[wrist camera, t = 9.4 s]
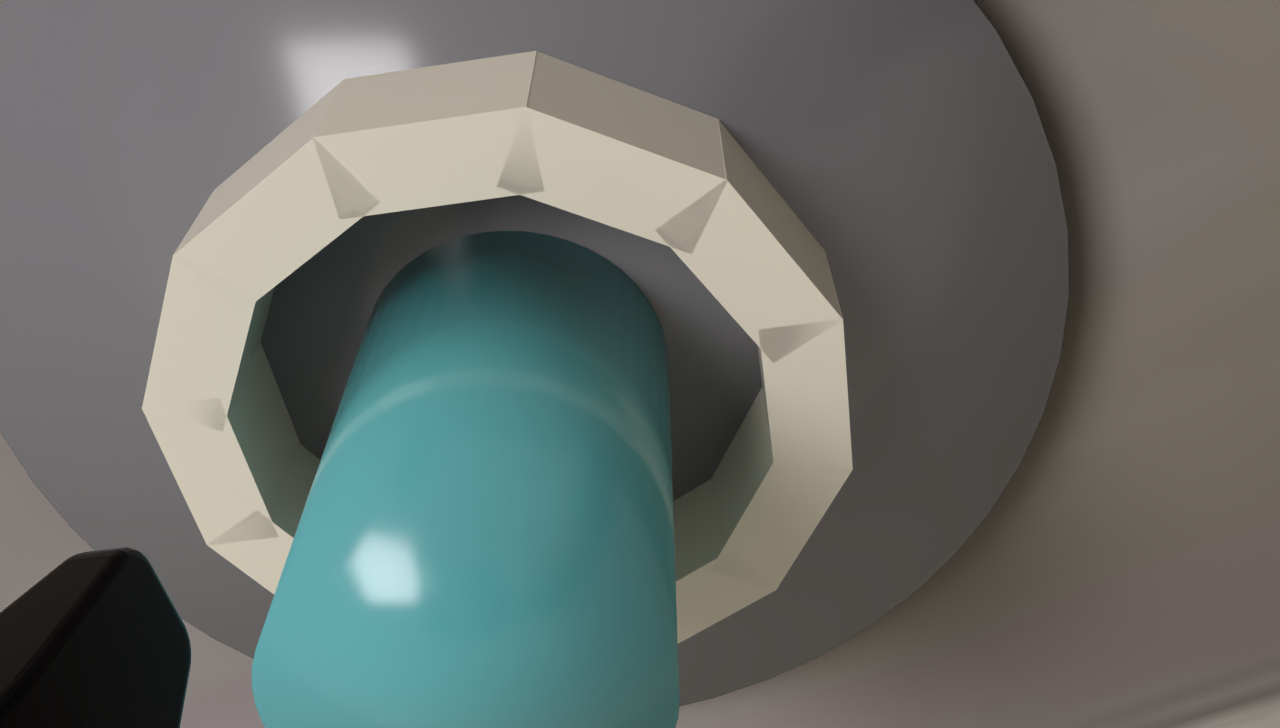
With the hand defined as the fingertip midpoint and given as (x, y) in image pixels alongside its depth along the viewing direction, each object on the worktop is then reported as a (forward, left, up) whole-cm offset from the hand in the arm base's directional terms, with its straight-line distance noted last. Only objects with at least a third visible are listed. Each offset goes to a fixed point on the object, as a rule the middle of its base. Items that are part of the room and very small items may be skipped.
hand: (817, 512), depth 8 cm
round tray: (+4, +6, -12) cm, 14 cm away
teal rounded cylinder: (+4, +6, -11) cm, 13 cm away
